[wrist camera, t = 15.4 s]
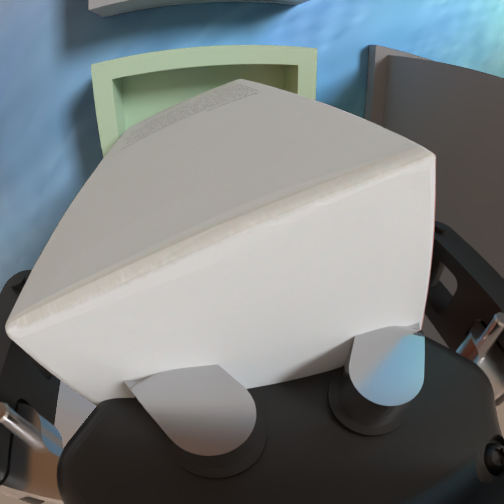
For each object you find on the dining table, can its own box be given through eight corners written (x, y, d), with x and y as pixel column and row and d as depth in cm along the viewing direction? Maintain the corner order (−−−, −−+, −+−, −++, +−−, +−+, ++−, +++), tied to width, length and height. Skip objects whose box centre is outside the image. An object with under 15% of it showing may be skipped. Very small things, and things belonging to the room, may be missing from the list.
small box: (288, 204, 18) (407, 404, 8) (190, 245, 18) (218, 472, 8) (242, 73, 13) (449, 145, 3) (124, 125, 13) (-10, 339, 3)
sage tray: (296, 49, 15) (317, 48, 12) (289, 233, 22) (302, 257, 20) (105, 63, 13) (90, 64, 11) (138, 252, 21) (134, 280, 18)
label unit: (441, 64, 16) (613, 133, 4) (405, 247, 26) (502, 367, 14) (369, 44, 15) (590, 98, 3) (342, 257, 25) (437, 407, 13)
